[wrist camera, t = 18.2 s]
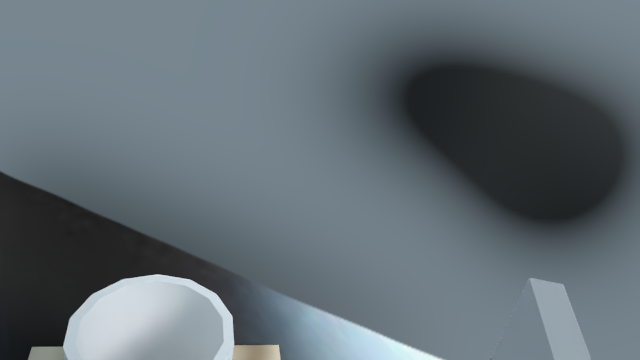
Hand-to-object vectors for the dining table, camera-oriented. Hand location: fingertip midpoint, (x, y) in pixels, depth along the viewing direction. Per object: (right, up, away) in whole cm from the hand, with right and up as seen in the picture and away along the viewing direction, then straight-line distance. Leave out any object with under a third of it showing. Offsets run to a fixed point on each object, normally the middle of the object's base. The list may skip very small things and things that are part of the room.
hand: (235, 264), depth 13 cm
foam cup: (-10, -18, +27) cm, 34 cm away
